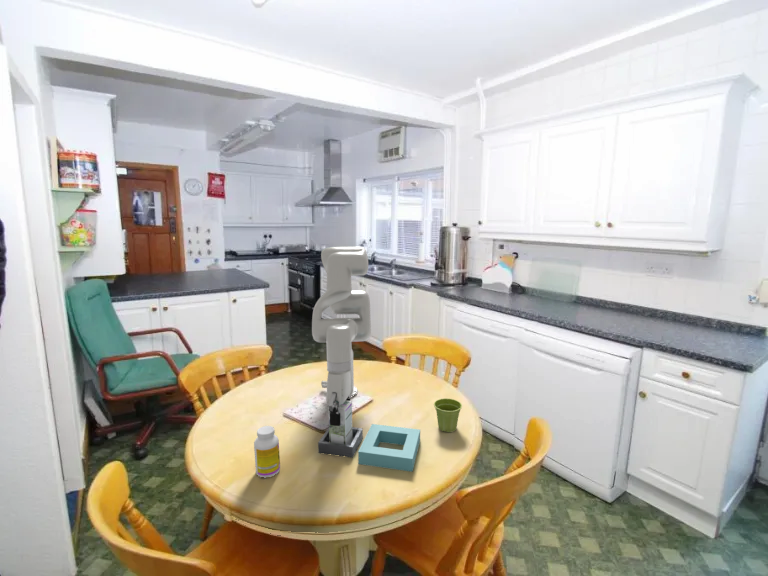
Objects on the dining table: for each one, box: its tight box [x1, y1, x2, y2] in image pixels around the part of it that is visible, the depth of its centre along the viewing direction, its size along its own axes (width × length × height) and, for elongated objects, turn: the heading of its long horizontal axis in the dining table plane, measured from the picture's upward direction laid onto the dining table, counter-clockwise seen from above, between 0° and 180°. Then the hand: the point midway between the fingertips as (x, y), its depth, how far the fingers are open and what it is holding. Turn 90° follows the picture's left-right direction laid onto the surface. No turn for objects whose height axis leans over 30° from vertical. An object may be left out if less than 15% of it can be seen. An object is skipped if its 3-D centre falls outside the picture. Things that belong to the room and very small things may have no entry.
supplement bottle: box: [253, 425, 281, 479], centre depth 110 cm, size 7×7×13 cm
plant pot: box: [433, 398, 463, 433], centre depth 134 cm, size 9×9×9 cm
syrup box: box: [327, 400, 353, 445], centre depth 123 cm, size 6×6×14 cm
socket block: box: [357, 423, 421, 473], centre depth 120 cm, size 16×16×4 cm
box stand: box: [317, 426, 364, 459], centre depth 124 cm, size 11×11×4 cm
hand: (340, 417), depth 122 cm, fingers open, 9 cm apart
